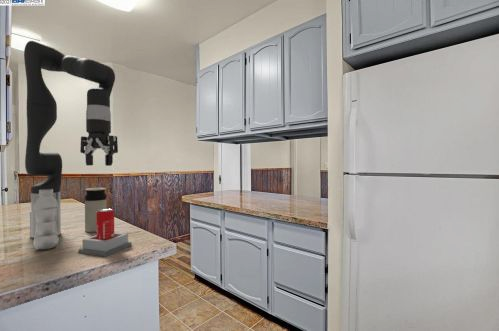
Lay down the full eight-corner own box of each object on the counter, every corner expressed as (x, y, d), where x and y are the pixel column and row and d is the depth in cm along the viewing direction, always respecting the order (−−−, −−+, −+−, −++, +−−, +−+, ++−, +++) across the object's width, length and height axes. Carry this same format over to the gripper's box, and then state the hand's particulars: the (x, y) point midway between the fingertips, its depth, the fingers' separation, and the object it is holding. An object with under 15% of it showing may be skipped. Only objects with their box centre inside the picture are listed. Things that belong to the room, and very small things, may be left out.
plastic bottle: (37, 247, 88) (37, 189, 87) (61, 244, 90) (60, 188, 90) (30, 253, 82) (29, 191, 81) (55, 250, 84) (55, 190, 84)
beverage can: (106, 248, 83) (106, 211, 83) (93, 247, 84) (92, 211, 84) (117, 243, 88) (117, 208, 88) (104, 242, 89) (104, 208, 89)
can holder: (78, 252, 82) (78, 239, 82) (106, 242, 93) (106, 231, 92) (105, 256, 79) (105, 242, 79) (131, 245, 89) (131, 233, 89)
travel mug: (102, 232, 107) (102, 189, 106) (81, 233, 105) (81, 189, 105) (109, 227, 114) (108, 187, 114) (89, 228, 113) (89, 187, 113)
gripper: (73, 118, 88) (73, 165, 88) (106, 116, 84) (106, 165, 84) (92, 122, 95) (92, 165, 96) (123, 120, 91) (123, 165, 92)
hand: (99, 165), depth 90 cm, fingers open, 8 cm apart
